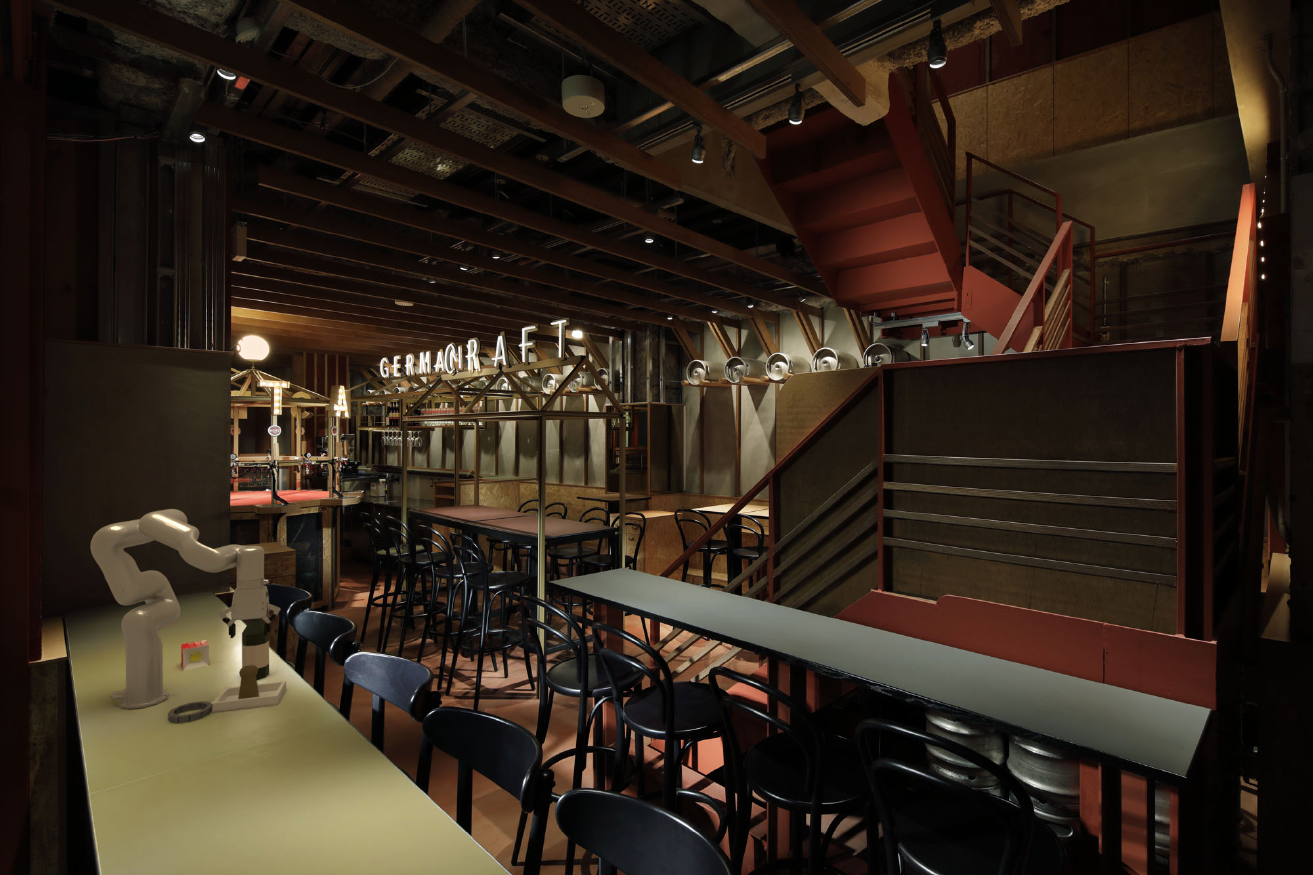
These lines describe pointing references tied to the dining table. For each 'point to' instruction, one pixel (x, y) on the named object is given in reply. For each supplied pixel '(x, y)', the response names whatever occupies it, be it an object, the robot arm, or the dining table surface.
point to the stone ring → (176, 718)
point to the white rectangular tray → (267, 697)
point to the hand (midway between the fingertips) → (249, 635)
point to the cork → (248, 682)
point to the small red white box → (194, 655)
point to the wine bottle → (256, 647)
